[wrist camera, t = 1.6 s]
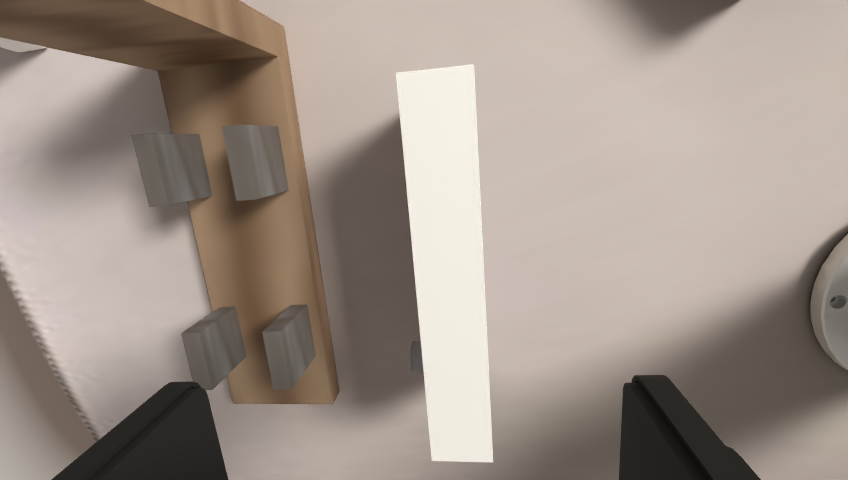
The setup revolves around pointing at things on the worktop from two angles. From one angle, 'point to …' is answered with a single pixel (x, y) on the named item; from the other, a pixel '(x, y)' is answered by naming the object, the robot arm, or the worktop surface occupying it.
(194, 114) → the cabinet base
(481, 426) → the door panel
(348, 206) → the worktop surface
